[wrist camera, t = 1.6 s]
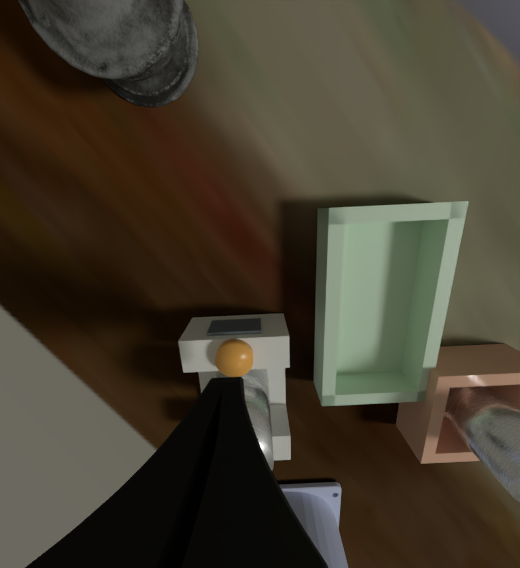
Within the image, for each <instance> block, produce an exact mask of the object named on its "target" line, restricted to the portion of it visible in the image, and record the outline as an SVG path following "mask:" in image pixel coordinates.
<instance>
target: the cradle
mask: <svg viewBox="0 0 520 568" xmlns="http://www.w3.org/2000/svg"><path fill="white" fill-rule="evenodd" d="M178 343H179V349H180V355H181V361H182V367H183V373H188V372H198V374H199V381H200V388H201V393H202V391H203V390H204V388H205V387H206V385H207V384H208V382H209V380H210V379H211V378H215V377H216V373H217V371H220V372H221V373H222V374H224V375H226V376H229V377H240V376H243V375H245V374H247V373H248V372H249V371H250V370H251V369H267V372H268V384H269V399H270V413H271V428H272V443H273V458H274V460H291V442H290V430H289V423H288V416H287V410H286V396H285V368H290V353H289V333H288V329H287V325H286V321H285V317H284V314H283V313H278V314H257V315H236V316H215V317H194V318H192V319H191V321H190V322H189V324H188V326H187V327H186V329H185V331H184V332H183V334H182V336H181V337H180V339H179V341H178Z"/></svg>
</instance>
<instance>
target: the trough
mask: <svg viewBox="0 0 520 568" xmlns="http://www.w3.org/2000/svg"><path fill="white" fill-rule="evenodd" d="M468 202H469V201H463V202H440V203H418V204H397V205H377V206H356V207H335V208H318V216H317V259H316V301H315V343H314V384H315V387H316V390H317V393H318V396H319V399H320V402H321V405H322V406H337V405H358V404H379V403H400V402H421V401H424V400H425V395H426V389H427V384H428V379H429V374H430V369H435V368H436V363H437V358H438V353H439V348H440V343H441V338H442V333H443V328H444V323H445V318H446V313H447V308H448V303H449V298H450V292H451V287H452V282H453V277H454V272H455V267H456V262H457V257H458V252H459V247H460V242H461V237H462V232H463V227H464V222H465V217H466V212H467V207H468Z"/></svg>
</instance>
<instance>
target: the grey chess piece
mask: <svg viewBox="0 0 520 568" xmlns="http://www.w3.org/2000/svg"><path fill="white" fill-rule="evenodd" d="M19 3H20V5H21V6H22V8H23V10H24V12H25V14H26V16H27V17H28V19H29V21H30V23H31V25H32V27H33V28H34V30H35V31H36V32H37V33H38V34H39V36H40V37H41V38H42V39H43V40H44V42H45V43H46V44H47V45H48V47H49V48H50V49H51V50H52V51H53V52H55V53H56V54H57V55H58V56H60V57H61V58H62V59H63V60H65V61H66V62H67V63H68V64H70V65H71V66H72V67H74V68H76V69H78V70H81V71H83V72H85V73H87V74H89V75H91V76H94V77H100V78H103V80H104V81H105V82H106V83H107V85H108V86H109V87H110V88H111V89H112V90H113V91H114V92H116V93H117V94H118V95H119V96H121V97H122V98H123V99H125V100H127V101H129V102H131V103H133V104H135V105H138V106H145V107H157V106H164V105H166V104H168V103H170V102H172V101H174V100H176V99H177V98H178V97H179V96H180V95H181V94H182V93H183V92H184V91H185V90H186V89H187V87H188V85H189V84H190V82H191V80H192V78H193V76H194V73H195V69H196V66H197V62H198V46H199V44H198V37H197V31H196V26H195V23H194V20H193V18H192V15H191V12H190V10H189V7H188V5H187V4H186V2H185V1H184V0H19Z"/></svg>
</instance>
